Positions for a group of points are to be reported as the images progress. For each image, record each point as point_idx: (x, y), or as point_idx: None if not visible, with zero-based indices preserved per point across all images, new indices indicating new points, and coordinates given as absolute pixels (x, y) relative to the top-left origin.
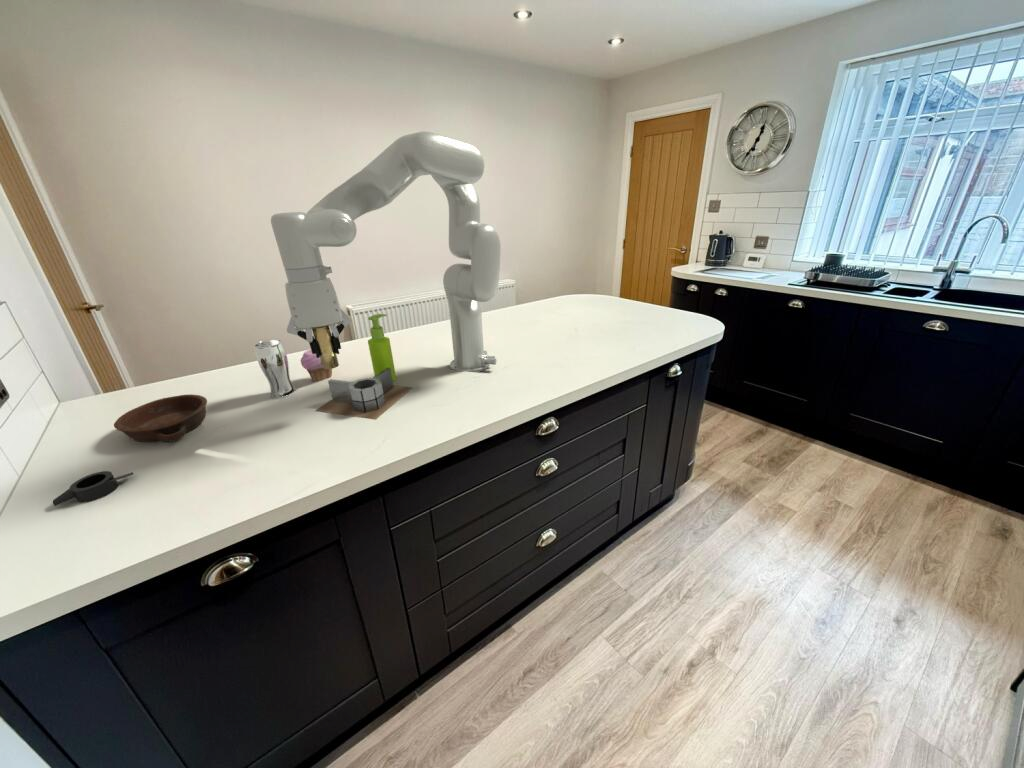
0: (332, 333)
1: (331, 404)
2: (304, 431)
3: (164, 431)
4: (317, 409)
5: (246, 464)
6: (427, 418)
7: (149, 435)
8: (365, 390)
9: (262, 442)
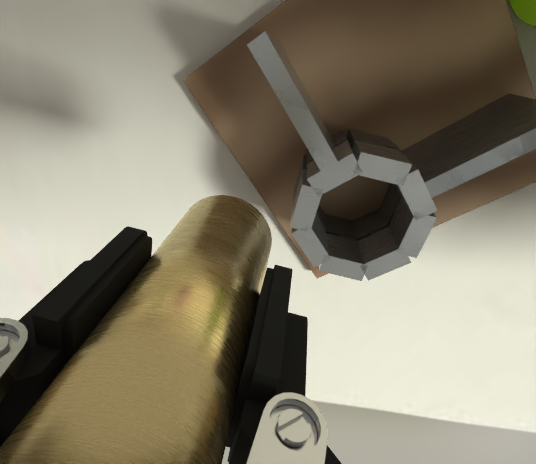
0: (240, 460)
1: (248, 72)
2: (142, 173)
3: None
4: (193, 77)
5: (16, 225)
6: (422, 336)
7: None
8: (332, 273)
9: (35, 148)
